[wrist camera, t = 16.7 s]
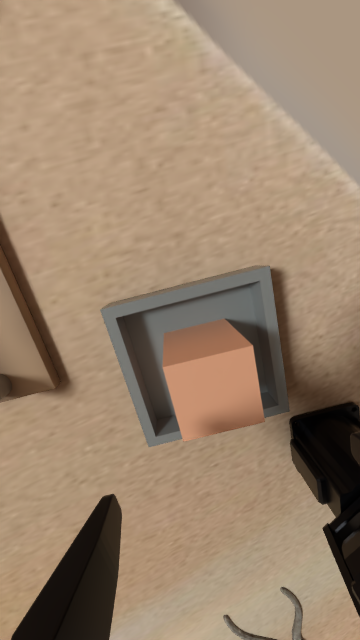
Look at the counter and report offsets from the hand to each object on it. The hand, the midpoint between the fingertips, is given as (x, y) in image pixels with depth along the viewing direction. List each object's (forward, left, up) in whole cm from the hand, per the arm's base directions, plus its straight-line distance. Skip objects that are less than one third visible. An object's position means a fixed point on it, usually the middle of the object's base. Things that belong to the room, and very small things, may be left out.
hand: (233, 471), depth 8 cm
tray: (0, 0, -11) cm, 11 cm away
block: (0, 0, -10) cm, 11 cm away
